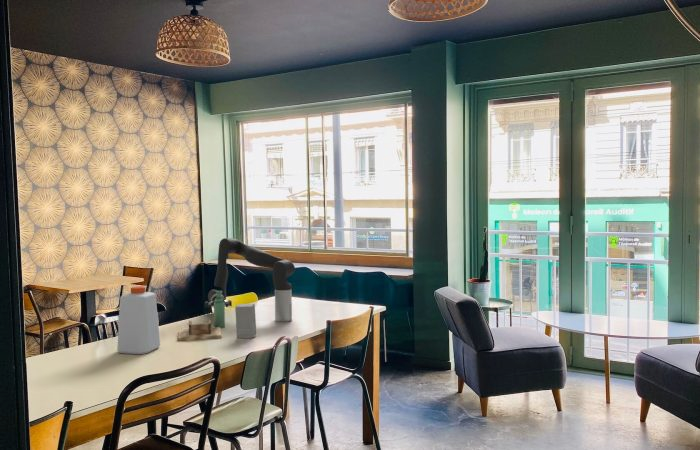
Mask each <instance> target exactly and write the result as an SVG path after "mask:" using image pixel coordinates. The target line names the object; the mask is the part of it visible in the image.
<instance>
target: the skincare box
mask: <svg viewBox="0 0 700 450" xmlns="http://www.w3.org/2000/svg"><path fill="white" fill-rule="evenodd" d="M234 308H235V309H234V311H235V322H236V323H235V325H236V338H237V339H253V338H255V336H257V322H256V321H257V320H256V305H255V303H239V304H238V305H236V306H235V307H234Z"/></svg>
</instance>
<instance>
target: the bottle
mask: <svg viewBox="0 0 700 450" xmlns="http://www.w3.org/2000/svg"><path fill="white" fill-rule="evenodd" d="M216 293H217V298H216V299H215V302H214V307H213V327H220V329H223V328H225V327H226V323H225V322H226V316H225V315H226V312H225V311H226V307H225V302H223V298H222V290H218V291H216Z"/></svg>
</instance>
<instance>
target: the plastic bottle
mask: <svg viewBox="0 0 700 450" xmlns="http://www.w3.org/2000/svg"><path fill="white" fill-rule="evenodd" d="M157 308H158V306H157V297H156V293H155V292H151V291H150V292H149V291H146V287H145V286H139V285H138V286H133V287H130V292H128V293H125V294H122V295H121V296H120V297H119V312H118V314H119V315H118V329H117V330H118V333H117V349H116V351H117V352H118V353H119V354H128V355H129V354H130V355H145V354H149V353H150V352H153V351H155V350H157V349H159V348H160V346H161V340H160V328H159V316H158V309H157Z"/></svg>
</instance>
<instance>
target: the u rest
mask: <svg viewBox="0 0 700 450" xmlns="http://www.w3.org/2000/svg"><path fill="white" fill-rule="evenodd" d="M221 329H222V328H220V327H214V326H212V321H211V319H207V322H205V323H193V322H192V320H188V328H180V329H179V330H178V336H177V341H178V342H181V341H183V342H184V341H198V340H199V341H200V340H211V339H212V340H213V339H222V336H223V335H222V330H221Z"/></svg>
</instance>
